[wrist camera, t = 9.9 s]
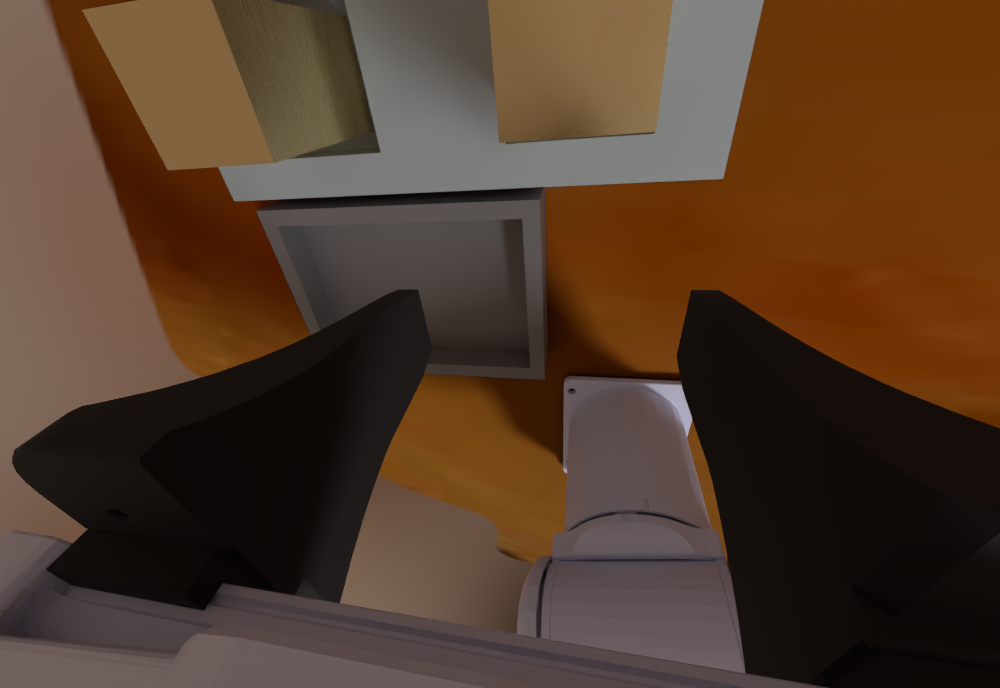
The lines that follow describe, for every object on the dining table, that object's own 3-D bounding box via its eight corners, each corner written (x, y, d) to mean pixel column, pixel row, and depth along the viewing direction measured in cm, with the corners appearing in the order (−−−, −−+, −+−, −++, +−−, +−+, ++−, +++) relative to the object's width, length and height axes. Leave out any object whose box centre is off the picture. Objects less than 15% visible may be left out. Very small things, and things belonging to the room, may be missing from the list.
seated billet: (630, 106, 15) (656, 131, 10) (529, 115, 16) (498, 142, 10) (643, -33, 13) (686, -105, 7) (524, -15, 14) (482, -69, 8)
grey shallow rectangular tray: (548, 353, 24) (544, 379, 22) (345, 346, 27) (325, 368, 25) (544, 184, 18) (540, 199, 16) (287, 197, 21) (256, 211, 19)
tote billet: (374, 131, 17) (274, 163, 12) (295, 137, 18) (167, 170, 13) (346, 15, 15) (206, -13, 10) (258, 28, 16) (82, 10, 10)
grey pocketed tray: (706, 165, 17) (723, 178, 15) (267, 188, 21) (234, 201, 19) (772, -159, 12) (810, -205, 10) (173, -41, 16) (114, -56, 14)
